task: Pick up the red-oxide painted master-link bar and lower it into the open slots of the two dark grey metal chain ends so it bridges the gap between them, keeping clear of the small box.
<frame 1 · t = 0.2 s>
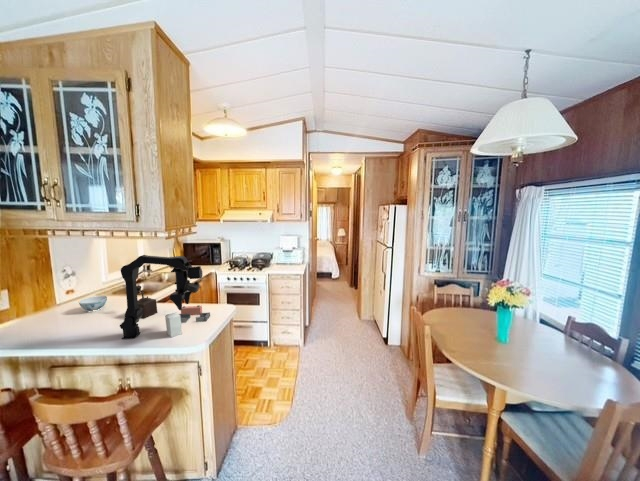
hand: (184, 306, 149), 14 cm above the kitchen counter, fingers open, 9 cm apart
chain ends: (193, 319, 167), on the kitchen counter
chinaware: (94, 310, 186), on the kitchen counter
link: (191, 314, 175), on the kitchen counter
dark brown boxy piece: (142, 314, 177), on the kitchen counter
small box: (174, 333, 149), on the kitchen counter
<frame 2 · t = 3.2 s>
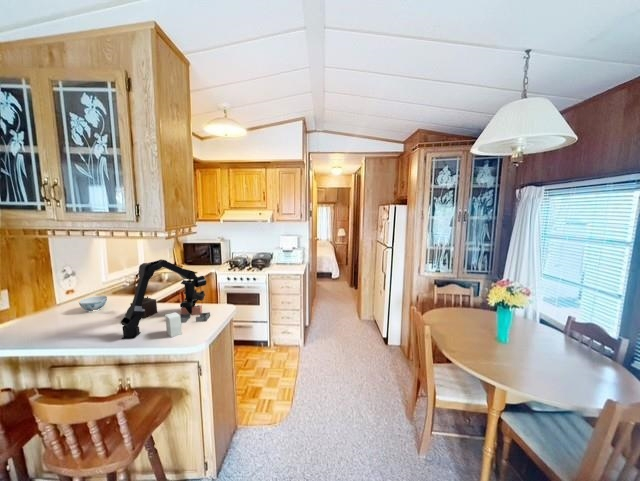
hand: (191, 312, 175), 1 cm above the kitchen counter, fingers closed on link, 3 cm apart
link: (192, 314, 175), on the kitchen counter, touching gripper
everything else where it was.
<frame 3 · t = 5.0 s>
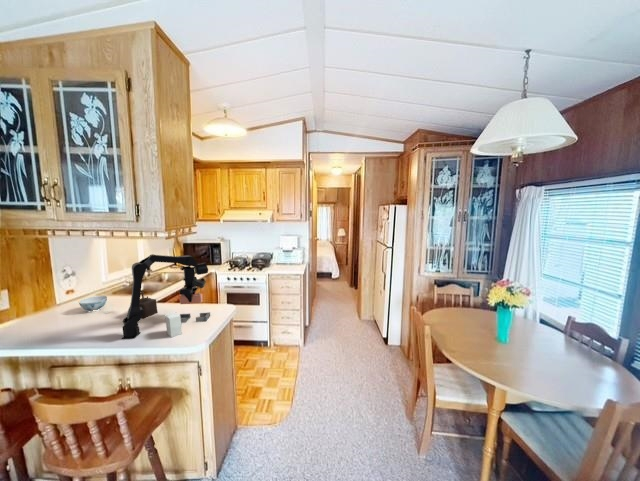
hand: (191, 301, 165), 12 cm above the kitchen counter, fingers closed on link, 3 cm apart
link: (191, 302, 166), point 11 cm above the kitchen counter, touching gripper
everything else where it was.
when the fingers open (3 cm above the kitchen counter, at t = 7.0 s): link drops 1 cm, resting on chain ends.
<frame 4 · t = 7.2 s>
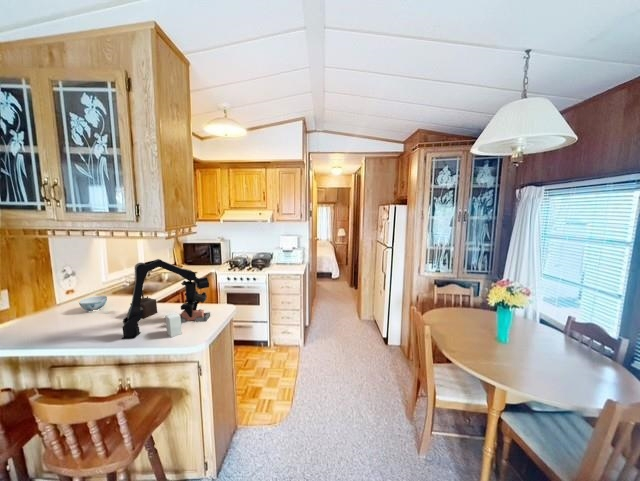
hand: (192, 315, 166), 3 cm above the kitchen counter, fingers open, 6 cm apart
link: (193, 319, 167), resting on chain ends
everything else where it was.
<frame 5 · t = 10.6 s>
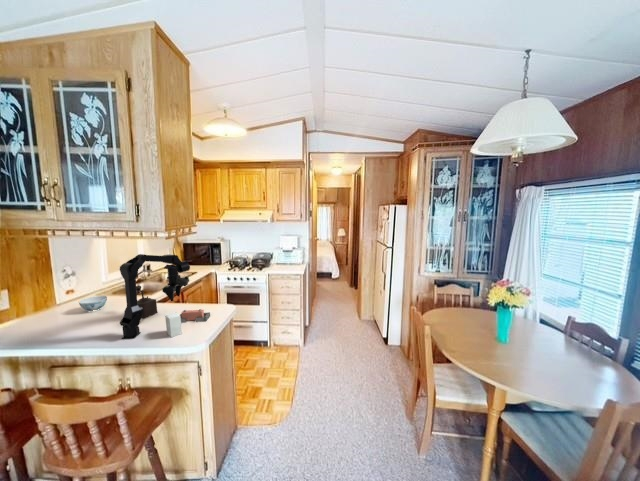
hand: (175, 298, 170), 12 cm above the kitchen counter, fingers open, 9 cm apart
nothing on the kitchen counter moved.
at the end: link 0.0 cm off-centre on the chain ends, point 0.4 cm above the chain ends's base; link tilted 0°; the gripper is holding nothing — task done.
